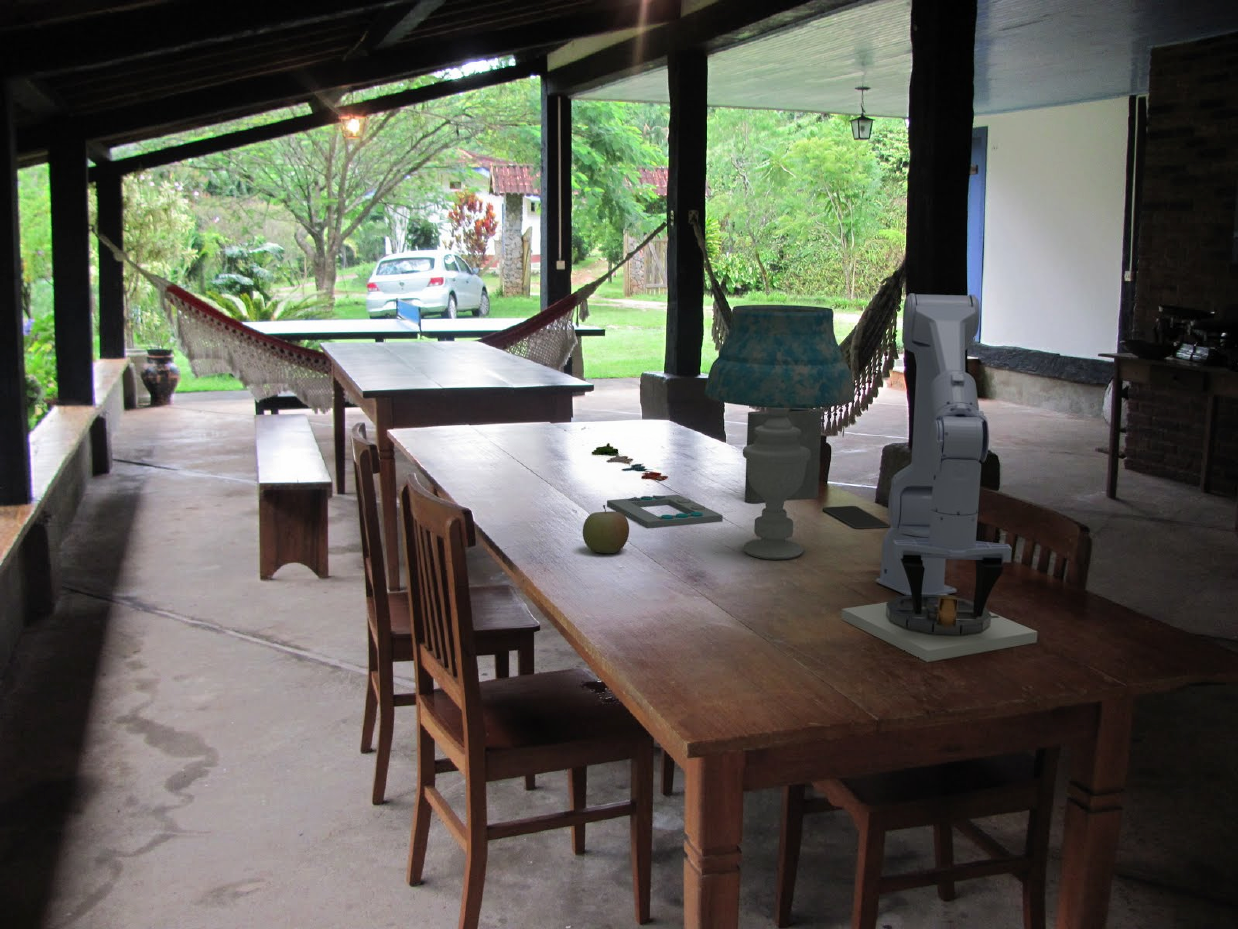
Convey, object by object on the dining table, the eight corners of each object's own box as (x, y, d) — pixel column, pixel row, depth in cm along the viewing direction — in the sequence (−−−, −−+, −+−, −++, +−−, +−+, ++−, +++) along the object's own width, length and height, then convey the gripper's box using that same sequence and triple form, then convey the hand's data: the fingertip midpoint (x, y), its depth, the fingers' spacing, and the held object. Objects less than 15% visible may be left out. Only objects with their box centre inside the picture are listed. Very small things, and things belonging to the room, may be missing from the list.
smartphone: (855, 527, 218) (820, 507, 232) (854, 533, 218) (820, 511, 232) (893, 525, 220) (856, 505, 234) (892, 530, 220) (856, 510, 234)
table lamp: (753, 580, 186) (763, 315, 179) (673, 543, 207) (679, 304, 199) (876, 562, 198) (891, 311, 190) (788, 528, 218) (798, 301, 210)
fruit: (603, 560, 196) (604, 512, 195) (574, 551, 202) (574, 503, 200) (638, 552, 201) (639, 505, 200) (609, 543, 207) (610, 497, 205)
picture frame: (607, 497, 233) (678, 492, 239) (606, 509, 233) (677, 503, 239) (647, 519, 216) (722, 512, 222) (647, 532, 217) (722, 525, 223)
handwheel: (880, 601, 171) (882, 568, 171) (977, 604, 170) (979, 571, 170) (895, 633, 158) (897, 598, 157) (1000, 637, 157) (1002, 602, 156)
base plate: (841, 619, 169) (842, 608, 169) (944, 603, 177) (945, 592, 176) (927, 662, 153) (928, 649, 153) (1036, 642, 161) (1037, 631, 160)
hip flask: (749, 504, 236) (753, 401, 233) (739, 499, 240) (743, 398, 236) (821, 498, 242) (825, 397, 239) (810, 494, 246) (814, 395, 242)
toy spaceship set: (585, 454, 286) (585, 441, 286) (610, 453, 289) (611, 440, 288) (645, 485, 255) (645, 470, 254) (673, 483, 257) (673, 468, 256)
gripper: (901, 515, 152) (894, 620, 155) (1020, 519, 151) (1012, 625, 154) (892, 503, 159) (886, 603, 162) (1007, 506, 158) (999, 608, 161)
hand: (947, 613), depth 158 cm, fingers open, 7 cm apart
